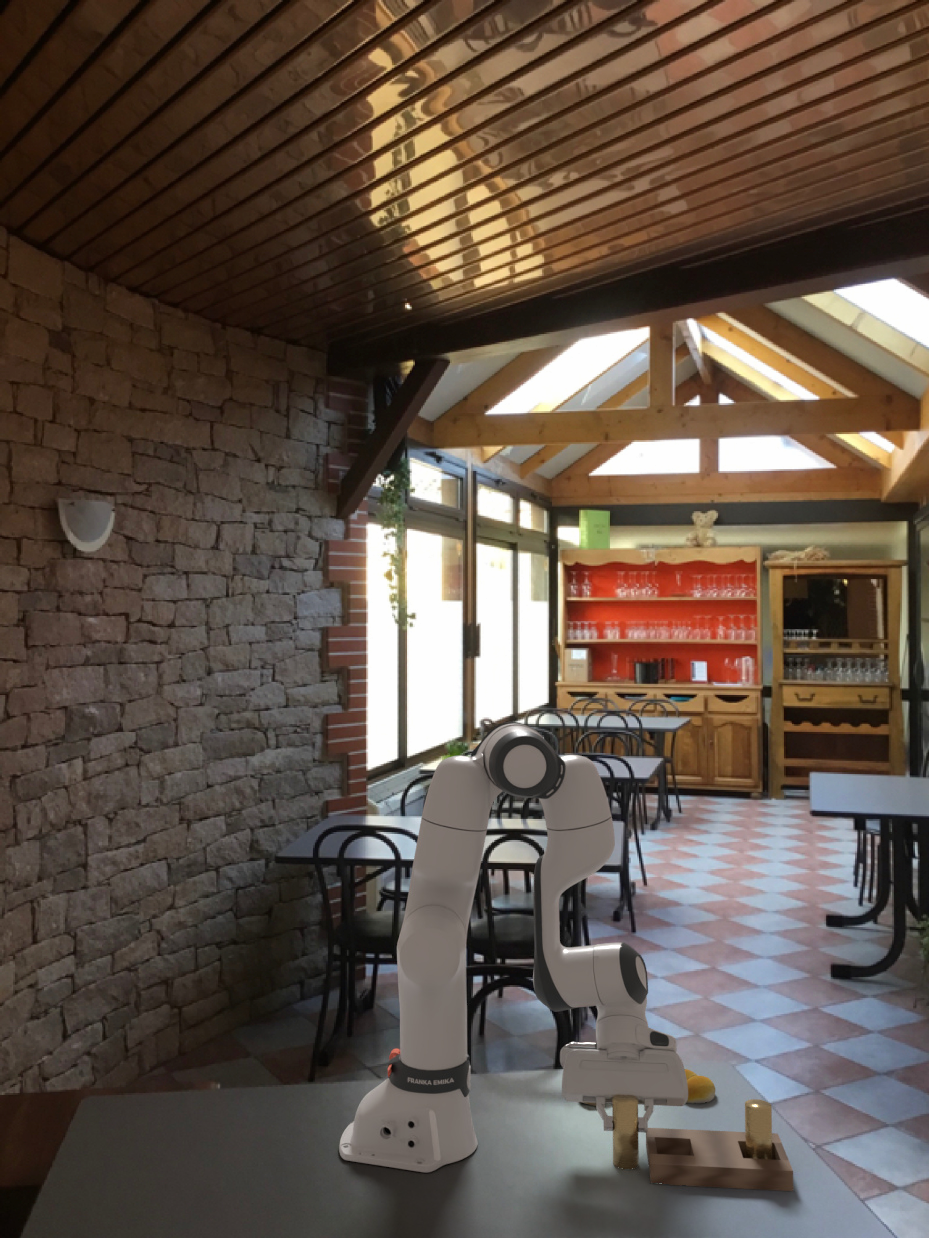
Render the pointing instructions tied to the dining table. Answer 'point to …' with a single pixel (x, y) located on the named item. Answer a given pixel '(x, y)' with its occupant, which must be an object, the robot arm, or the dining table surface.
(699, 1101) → the bread roll
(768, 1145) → the seated billet
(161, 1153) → the dining table surface
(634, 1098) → the loose billet
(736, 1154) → the wooden socket block
